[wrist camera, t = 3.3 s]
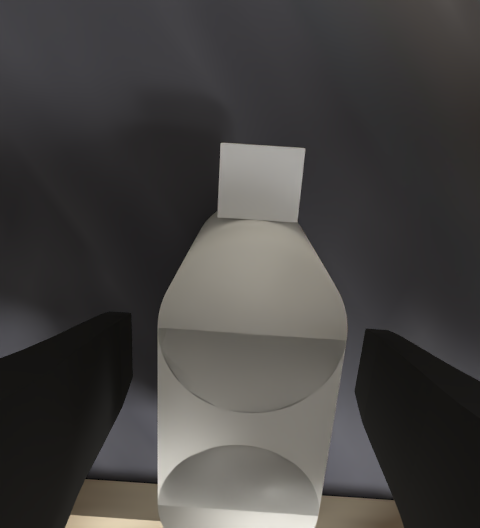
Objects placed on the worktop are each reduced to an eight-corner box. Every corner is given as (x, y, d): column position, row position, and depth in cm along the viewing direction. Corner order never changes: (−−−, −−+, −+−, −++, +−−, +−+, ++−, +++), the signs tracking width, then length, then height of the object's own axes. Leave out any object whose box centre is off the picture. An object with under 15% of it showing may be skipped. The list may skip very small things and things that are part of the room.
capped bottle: (322, 148, 11) (377, 155, 6) (289, 426, 14) (308, 573, 9) (196, 140, 11) (156, 140, 6) (188, 419, 14) (157, 562, 9)
